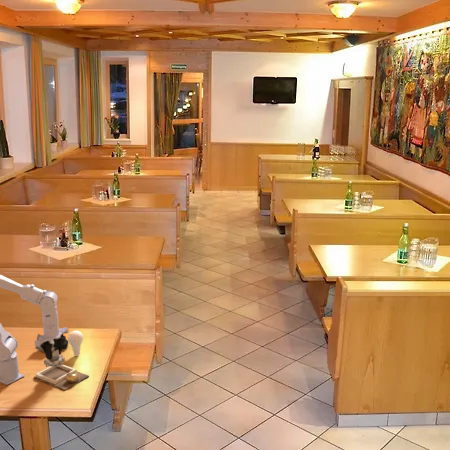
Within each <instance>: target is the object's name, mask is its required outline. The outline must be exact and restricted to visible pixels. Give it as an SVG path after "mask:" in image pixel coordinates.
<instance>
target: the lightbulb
mask: <svg viewBox="0 0 450 450" xmlns="http://www.w3.org/2000/svg"><path fill="white" fill-rule="evenodd" d="M67 340H68V344H70V346H71V348H72V352H73V355H74V356H76V357H78V356H79V355H80V354H81V345H82V343H83V340H84V335H83V333H82V332H81V331H79V330H72V331H71V332H69V334H68V336H67Z"/></svg>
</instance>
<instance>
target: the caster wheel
mask: <svg viewBox="0 0 450 450" xmlns="http://www.w3.org/2000/svg"><path fill="white" fill-rule="evenodd" d="M42 335H43V334H40V333H37V336H36V340H37V339H39V338H40V337H41V336H42ZM49 342H50V344H53V345H52V348H53V347H55V344H54V341H53V340H50V341H49ZM68 345H69V341H68V338H66V339H65V341H64V344H63V347H62V351H64V350H66V349H68ZM34 346H35V345H34ZM34 348H35V349H36V350H37V351H39V352H43V353H44V351H43V349H42V348H41V346H39V347H38V346H35V347H34Z"/></svg>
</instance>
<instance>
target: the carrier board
mask: <svg viewBox="0 0 450 450" xmlns="http://www.w3.org/2000/svg"><path fill="white" fill-rule="evenodd" d="M69 372H70V371H68V370H65V369H63V368H60V367H56V368H54V369H52V370H50V371H49V372H47V373H45V374H43V376H46V377H48V378H51V379H54V380H56V379H58V378H59V377H61V376H63V375H65V374H67V373H69ZM77 373H78V382H76V383H73V384H69V383H67V381H66V379H64V380H62V381H60V382H58V383H56V384H53V383H50V382H48V381H45V380H43V379H40V378H38V377H36V375H35V376H33V379H35V380H37V381H39V382H42V383H45V384H47V385H50V386H51V387H52V386H53V387H54V388H57V389H60V390H62V391H67V390H69V389H70V388H72V387H74V386H76V385H78V384H80V382H83V381H84V380H86V379H88V378H89V377H90V375H88V374H85V373H82V372H79V371H77Z"/></svg>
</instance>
